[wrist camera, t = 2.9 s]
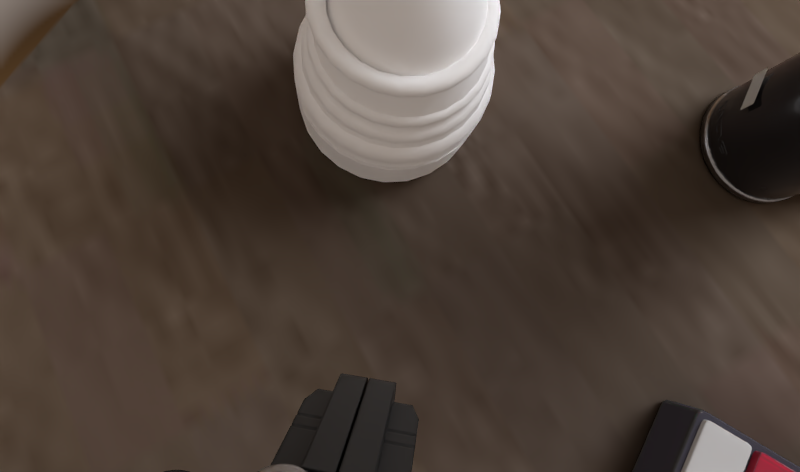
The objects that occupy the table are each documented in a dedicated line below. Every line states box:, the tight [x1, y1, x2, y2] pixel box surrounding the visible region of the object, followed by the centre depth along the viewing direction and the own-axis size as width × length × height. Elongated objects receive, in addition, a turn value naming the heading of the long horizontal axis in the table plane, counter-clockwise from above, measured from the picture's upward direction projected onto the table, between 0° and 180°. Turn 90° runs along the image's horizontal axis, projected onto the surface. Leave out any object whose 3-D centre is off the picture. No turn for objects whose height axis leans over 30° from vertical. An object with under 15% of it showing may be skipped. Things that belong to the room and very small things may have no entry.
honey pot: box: [293, 0, 501, 182], centre depth 28 cm, size 13×13×18 cm
